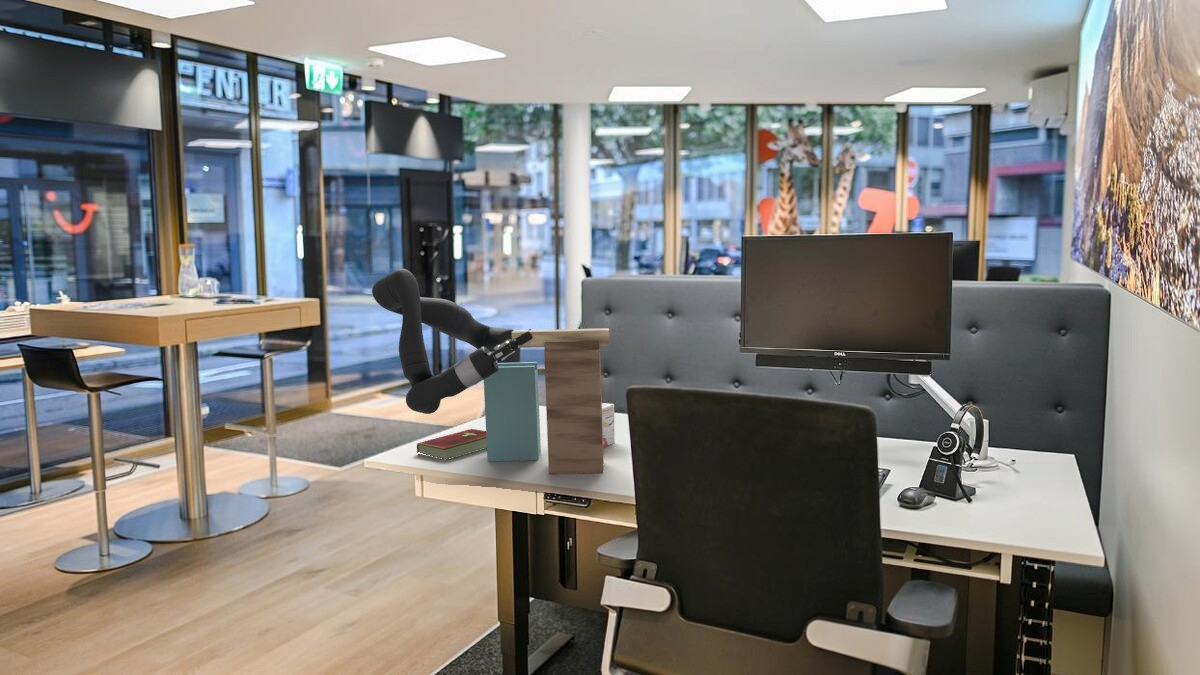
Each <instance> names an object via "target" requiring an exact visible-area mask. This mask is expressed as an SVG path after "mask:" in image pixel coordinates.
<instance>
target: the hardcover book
mask: <svg viewBox="0 0 1200 675" xmlns="http://www.w3.org/2000/svg"><path fill="white" fill-rule="evenodd" d="M486 447H487V441H486V430H482V429H477V428H476V429H475V428H470V429H465V430H461V431H458V432H454V433H451V434H447V435H444V436H439V437H436V438H432V439H428V440H424V441H421V442H417V443H416V454H417V453H418V452H420V453H423V454H426V455H430V456H433V457H437V458H442V459H448V460H450V459H449V458H451V459H453V458H452V457H455V458H457V457H456V456H458V457H460V456H459V455H462V456H464V455H463V454H465V455H467V454H466V453H468V454H470V453H469V452H472V453H474V452H473V451H475V452H477V451H476V450H479V451H481V450H480V449H482V450H484V449H483V448H485V449H487V448H486ZM437 458H436V459H437Z"/></svg>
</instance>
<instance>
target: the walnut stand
mask: <svg viewBox="0 0 1200 675" xmlns="http://www.w3.org/2000/svg"><path fill="white" fill-rule="evenodd" d="M543 349H544V351H543V352H544V353H543V354H544V355H543V356H544V380H545V381H544V382H545V408H546V432H547V434H546V435H547V436H546V437H547V458H548V459H547V461H548V462H547V463H548V474H549V475H565V474H566V473H575V474H596V473H595V472H603V473H604V465H603V464H605V463H604V462H605V461H604V448H603V425H602V403H603V400H602V396H603V395H602V393H603V392H602V365H601V364H602V362H601V361H602V360H601V346H599V341H576V342H545V343H544V347H543Z"/></svg>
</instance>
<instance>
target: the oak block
mask: <svg viewBox="0 0 1200 675" xmlns="http://www.w3.org/2000/svg"><path fill="white" fill-rule="evenodd" d="M527 331H529V332H530V333H531V335H532V336H533V338H532V339H531V340H529V341H528V342H526V343H524V344H523V345H520V349H521V348H522V349H524V348H525V349H526V348H527V349H528V348H529V349H530V348H544V343H545V342H576V341H599V346H600V347H604V346H605V347H606V346H607V347H609V346H611V345H610V343H611V342H610V328H608V327H607V328H606V327H604V328H602V327H601V328H571V329H569V328H566V329H564V328H563V329H562V328H561V329H531V330H529V329H526V330H522V329H521V330H520V329H519V330H514V331H513V332H512V340H513V339H515V338H517V337H519V336H521V335H522V334H524V333H526V332H527Z"/></svg>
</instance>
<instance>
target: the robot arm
mask: <svg viewBox="0 0 1200 675" xmlns="http://www.w3.org/2000/svg"><path fill="white" fill-rule="evenodd" d="M371 293H372V294H371V295H372V297H373V299H374V300H375V302H376V303H377V304H378V305H379V306H380V307H382V308H383V309H385V310H386V311H389V312H392V313H395V314H398V315H400V316H402V323H401V329H400V334H399V335H400V336H399V341H398V354H399V359H400V365H401V368H402V372H403V375H404V377H405V379H406V380H407V381H408V382H409V384H410V386H411V388H410V389H409V390H408V391H407V393H406V395H405V403H406V406H407V407H408V408H409V409H410V410H411V411H414V412H416V413H421V414H424V415H430V414H433V413H436V411H438V409H439V408H440V406H441V401H442V400H443V399H445V398H451V397H456V396H457V395H459V394H461V393H462V392H464V391H465V390H467V389H468V388H471V387H472V386H475V385H477V384H479V383H481V382H482V381H484V379H485V378H487V377H489V376H490V375H492V374H494V373H495V372H497V371H498V369H499V368H498V364H497V363H520V362H521V348H520V345H523V344H524V343H526V342H528V341H529V340H531V339H532V338H533V336H532V335H531V333H530V332H529V331H527V332H526V333H524V334H522V335H521V336H519V337H517V338H515V339H513V340H512V332H513V331H515V330H514V329H512V328H507V327H506V328H505V327H494V326H489V325H486V324H484V323H481V322H479V321H477V320H475V318H474V316H472V314H471V313H470V312H469V311H468V310H467V309H466V308H464V307H463V306H462V305H459V304H457V303H456V302H454V301H451V300H449V299H444V298H439V297H438V298H437V297H422V296H421V294H420V288H419V283H418V281H417V278H416V277H415V275H414V274H413V273H412V272H411V271H410V270H408V269H406V268H399V269H398V268H397V269H396V270H394V271H391V272H390V273H389V274H386V275H385V276H383V277H381V278H380V279H379V280H377V281H376V282H375V283H374V284H373V285H372V290H371ZM423 324H424V325H426V326H428V327H430V328H433V329H435V330H436V331H438V332H440V333H443V334H445V335H446V336H449V337H451V338H454V339H456V340H458V341H461V342H464V343H466V344H469V345H470V346H472V347H473V348H475V350H474V351H472V352H471V353H470V354H468V355H466V356H465V357H463V358H462V359H460V360H459V361H458V362H456V363H455V364H454V365H452V366H451V367H448V368H447V369H446V370H444V371H442V372H441V373H440V374H437V375H433V373H432V371H431V367H430V362H429V358H428V354H427V349H426V345H425V341H424V334H423V333H424V332H423ZM528 330H532V329H531V328H529V329H528Z"/></svg>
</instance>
